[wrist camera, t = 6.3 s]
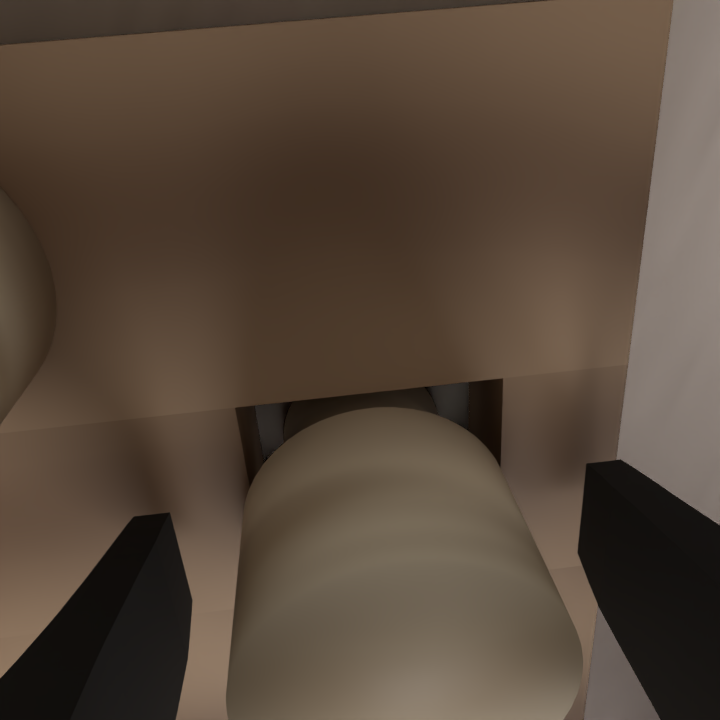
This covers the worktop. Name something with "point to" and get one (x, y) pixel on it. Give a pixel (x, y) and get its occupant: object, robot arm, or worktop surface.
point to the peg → (392, 577)
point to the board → (310, 271)
